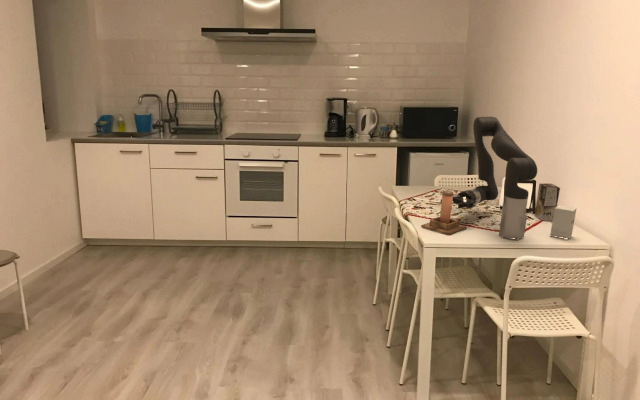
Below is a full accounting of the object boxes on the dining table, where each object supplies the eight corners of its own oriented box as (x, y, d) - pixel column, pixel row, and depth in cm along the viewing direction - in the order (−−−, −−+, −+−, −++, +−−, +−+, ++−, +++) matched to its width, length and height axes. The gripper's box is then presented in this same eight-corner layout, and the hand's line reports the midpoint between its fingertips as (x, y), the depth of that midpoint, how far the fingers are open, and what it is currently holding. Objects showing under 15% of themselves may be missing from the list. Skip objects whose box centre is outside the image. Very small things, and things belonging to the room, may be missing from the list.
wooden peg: (451, 226, 225) (455, 192, 221) (446, 228, 222) (449, 193, 218) (442, 223, 228) (446, 190, 224) (436, 225, 225) (440, 191, 221)
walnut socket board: (466, 229, 225) (467, 221, 224) (449, 235, 216) (450, 227, 215) (438, 221, 235) (439, 214, 234) (421, 227, 225) (421, 219, 224)
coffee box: (555, 221, 242) (560, 187, 238) (541, 220, 243) (546, 187, 238) (547, 215, 251) (552, 183, 247) (534, 215, 251) (538, 182, 247)
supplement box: (568, 240, 216) (573, 211, 213) (549, 236, 220) (554, 207, 217) (572, 236, 222) (577, 207, 218) (553, 232, 226) (558, 204, 223)
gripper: (455, 187, 240) (436, 192, 228) (484, 193, 230) (465, 198, 219) (454, 202, 241) (435, 208, 230) (482, 209, 232) (463, 216, 221)
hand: (450, 203), depth 224 cm, fingers open, 8 cm apart
